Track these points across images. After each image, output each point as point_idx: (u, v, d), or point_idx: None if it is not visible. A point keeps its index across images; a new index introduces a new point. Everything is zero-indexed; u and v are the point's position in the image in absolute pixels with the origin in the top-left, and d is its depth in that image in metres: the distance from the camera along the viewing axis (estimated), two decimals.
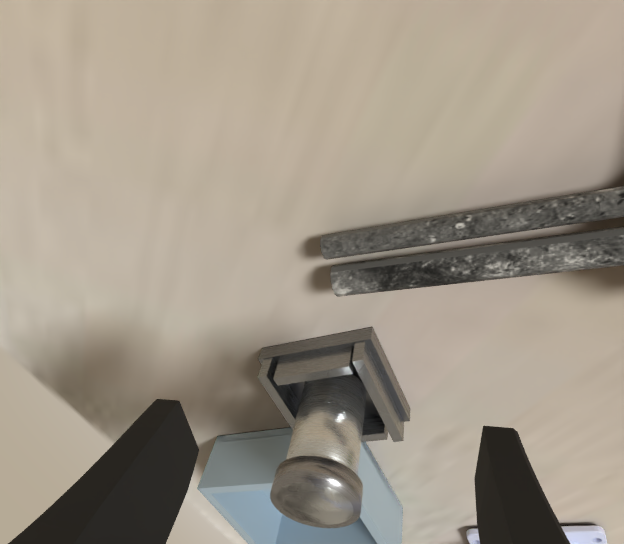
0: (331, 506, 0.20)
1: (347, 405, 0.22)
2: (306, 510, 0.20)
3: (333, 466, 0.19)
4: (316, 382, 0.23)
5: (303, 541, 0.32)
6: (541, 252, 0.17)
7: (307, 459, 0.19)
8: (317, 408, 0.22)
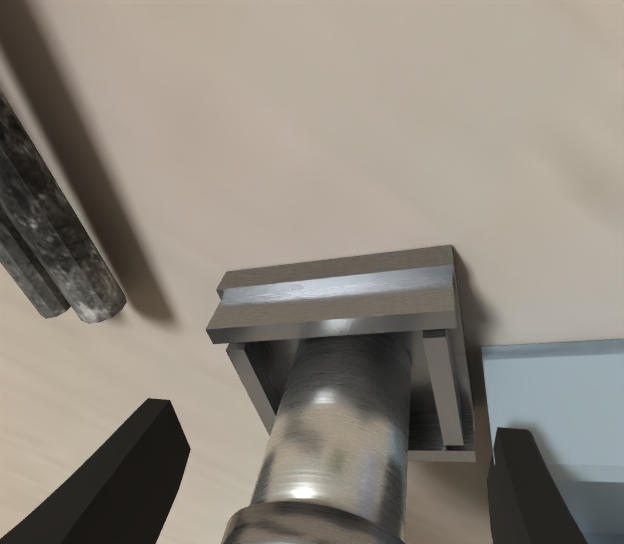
0: None
1: (292, 385, 0.11)
2: None
3: (228, 529, 0.09)
4: None
5: None
6: None
7: None
8: None
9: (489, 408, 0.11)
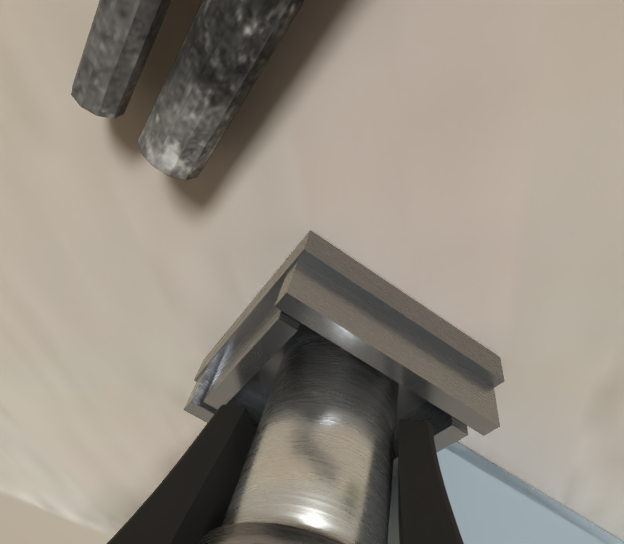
0: None
1: (319, 391, 0.10)
2: None
3: (254, 537, 0.08)
4: (275, 378, 0.12)
5: None
6: None
7: (207, 540, 0.08)
8: (263, 422, 0.11)
9: None
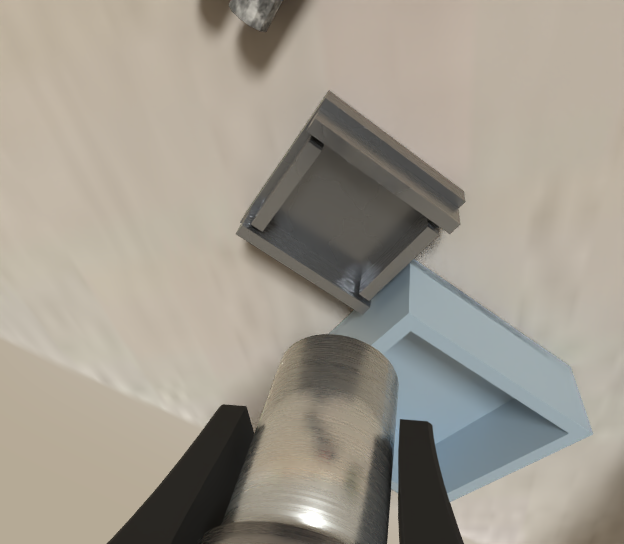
0: None
1: (318, 389, 0.10)
2: None
3: (253, 537, 0.08)
4: (275, 377, 0.12)
5: (459, 463, 0.23)
6: None
7: (207, 539, 0.08)
8: (263, 421, 0.11)
9: (410, 288, 0.18)
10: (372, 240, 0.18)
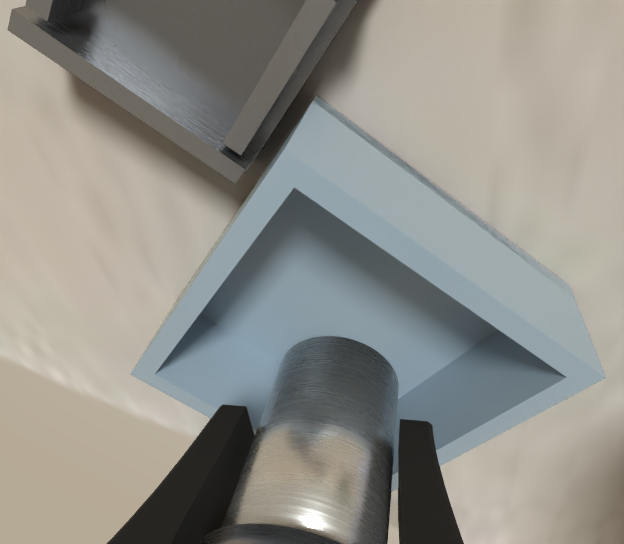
0: None
1: (319, 392, 0.10)
2: None
3: (254, 539, 0.08)
4: (275, 379, 0.12)
5: None
6: None
7: (207, 541, 0.08)
8: (263, 423, 0.11)
9: (300, 124, 0.11)
10: (244, 52, 0.11)
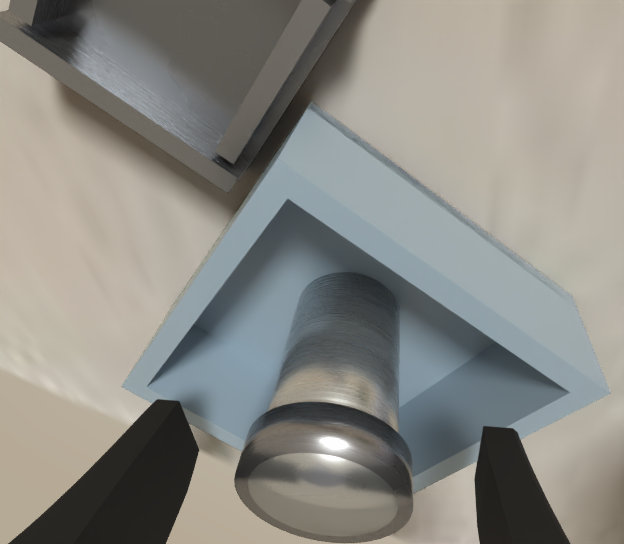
0: (346, 489, 0.10)
1: (337, 313, 0.13)
2: (324, 515, 0.11)
3: (299, 412, 0.10)
4: (296, 311, 0.14)
5: None
6: None
7: (259, 421, 0.10)
8: (291, 342, 0.13)
9: (294, 132, 0.10)
10: (236, 58, 0.11)
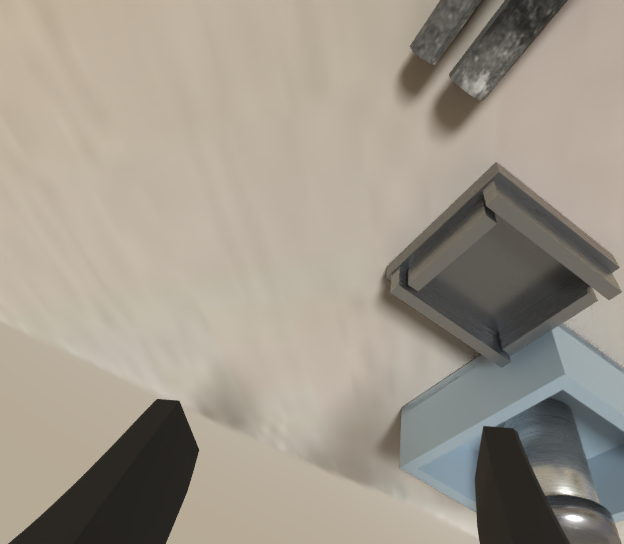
0: (584, 543, 0.18)
1: (550, 430, 0.21)
2: None
3: (560, 501, 0.18)
4: (510, 419, 0.23)
5: None
6: None
7: None
8: None
9: (556, 346, 0.19)
10: (517, 298, 0.19)
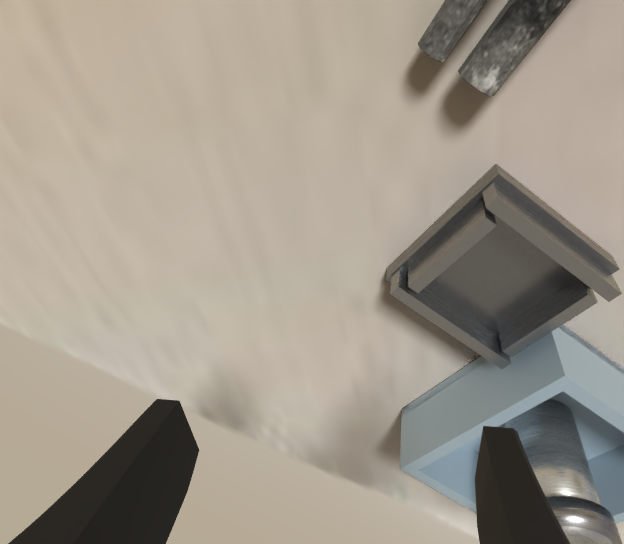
0: None
1: (551, 431, 0.21)
2: None
3: (561, 502, 0.18)
4: (510, 421, 0.23)
5: None
6: None
7: None
8: None
9: (556, 347, 0.19)
10: (517, 300, 0.19)
